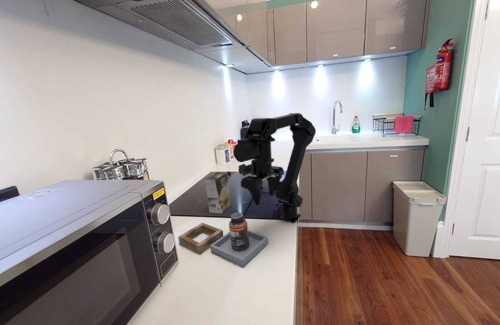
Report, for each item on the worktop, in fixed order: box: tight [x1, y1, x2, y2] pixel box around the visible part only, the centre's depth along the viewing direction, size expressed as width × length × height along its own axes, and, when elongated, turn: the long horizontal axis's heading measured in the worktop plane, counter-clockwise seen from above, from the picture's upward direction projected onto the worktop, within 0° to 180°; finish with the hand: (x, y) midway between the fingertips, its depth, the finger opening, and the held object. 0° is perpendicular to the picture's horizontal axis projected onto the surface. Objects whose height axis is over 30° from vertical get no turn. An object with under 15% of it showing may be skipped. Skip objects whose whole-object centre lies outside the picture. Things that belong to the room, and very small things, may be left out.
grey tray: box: [209, 229, 269, 268], centre depth 75 cm, size 14×14×2 cm
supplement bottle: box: [228, 212, 249, 251], centre depth 74 cm, size 6×6×11 cm
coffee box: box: [204, 172, 231, 214], centre depth 103 cm, size 9×6×16 cm
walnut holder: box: [178, 222, 224, 255], centre depth 81 cm, size 11×11×3 cm
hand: (264, 200), depth 79 cm, fingers open, 9 cm apart
